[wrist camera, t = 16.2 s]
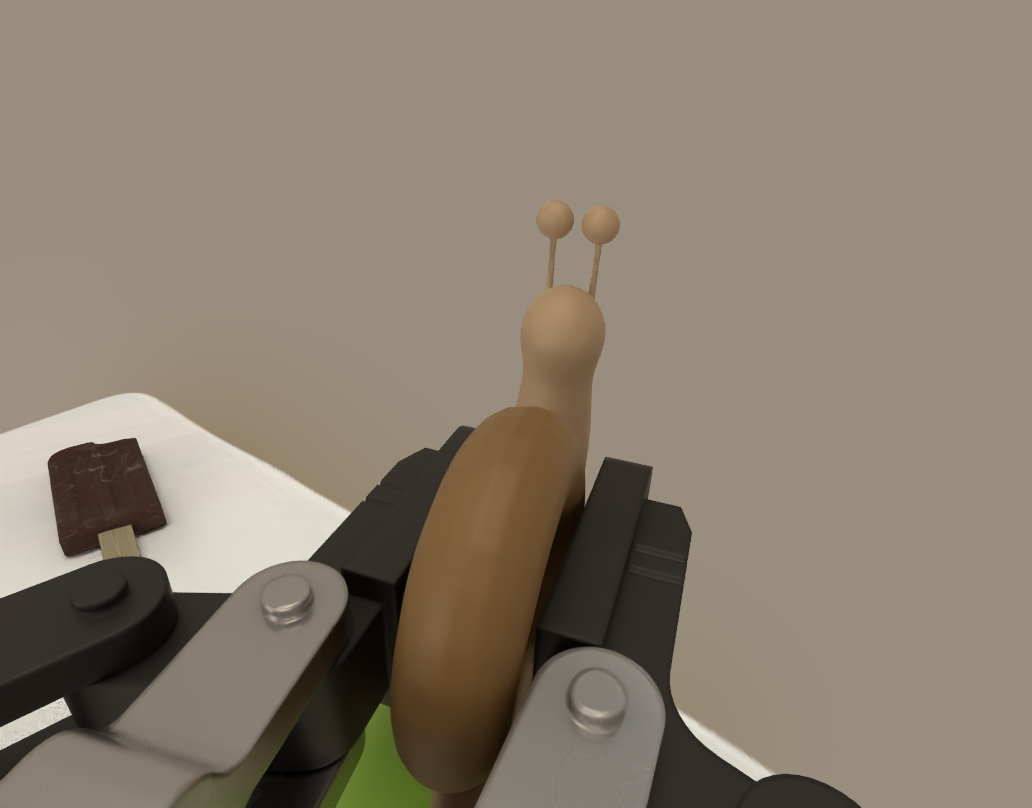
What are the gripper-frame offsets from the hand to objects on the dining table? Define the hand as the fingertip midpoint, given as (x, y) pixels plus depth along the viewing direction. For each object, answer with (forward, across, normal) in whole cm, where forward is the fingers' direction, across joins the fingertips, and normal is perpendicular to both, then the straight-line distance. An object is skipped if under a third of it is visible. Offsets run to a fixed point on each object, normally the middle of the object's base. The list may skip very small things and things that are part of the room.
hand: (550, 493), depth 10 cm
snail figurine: (-2, 0, +8) cm, 8 cm away
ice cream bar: (+13, +31, +20) cm, 39 cm away
